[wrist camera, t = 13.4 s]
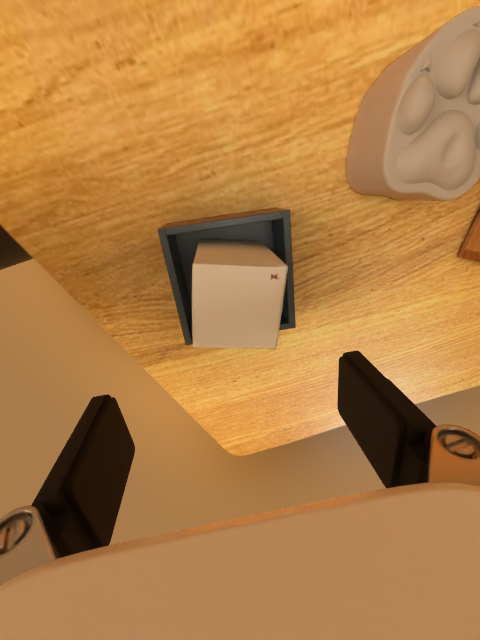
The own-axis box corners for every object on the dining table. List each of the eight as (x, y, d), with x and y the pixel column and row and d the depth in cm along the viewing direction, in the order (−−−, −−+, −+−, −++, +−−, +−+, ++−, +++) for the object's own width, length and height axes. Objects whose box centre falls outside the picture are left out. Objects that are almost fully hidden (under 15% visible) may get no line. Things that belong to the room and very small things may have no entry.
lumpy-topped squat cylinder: (337, 190, 31) (380, 187, 23) (375, 38, 26) (448, -32, 18) (419, 203, 32) (487, 205, 24) (470, 62, 27) (577, 7, 19)
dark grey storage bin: (189, 322, 36) (185, 345, 30) (167, 223, 30) (157, 229, 25) (282, 308, 36) (295, 327, 31) (276, 207, 31) (290, 209, 25)
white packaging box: (198, 236, 31) (191, 259, 19) (262, 240, 32) (292, 265, 20) (197, 297, 34) (190, 349, 22) (256, 300, 35) (278, 351, 23)
